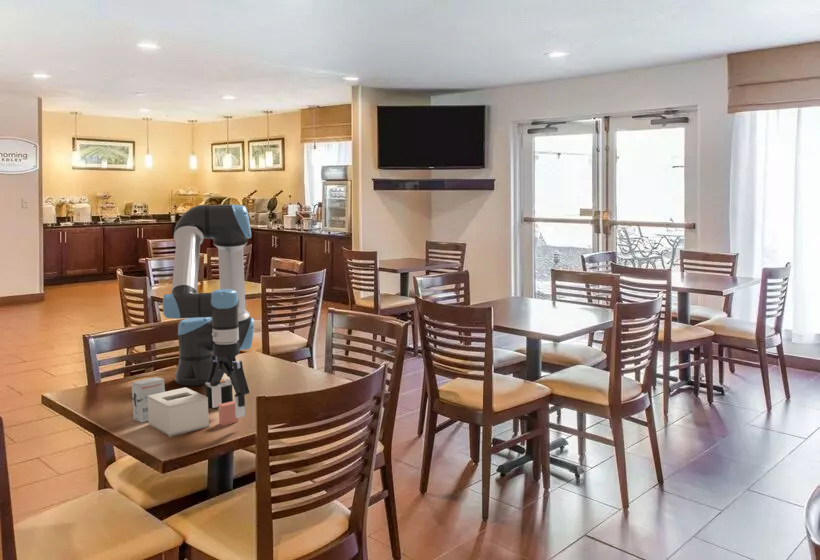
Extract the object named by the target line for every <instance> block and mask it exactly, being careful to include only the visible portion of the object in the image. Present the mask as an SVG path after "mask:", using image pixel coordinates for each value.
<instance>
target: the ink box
mask: <svg viewBox="0 0 820 560" xmlns="http://www.w3.org/2000/svg"><path fill="white" fill-rule="evenodd" d="M165 388H166V387H165V379H164V378H161V377H156V376H155V377H151V378H150V377H149V378H147V379H143V380H138V381H134V382H131V397H132V398H131V400H132V401H131V402H132V413H133V415H132V416H133V417H132V418H133V420H135V421H136V422H139V423H141V424H142V423H146V422H149V418H148V399H147V395H152V394H157V393H161V392H166V389H165Z"/></svg>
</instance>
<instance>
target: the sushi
mask: <svg viewBox="0 0 820 560" xmlns="http://www.w3.org/2000/svg"><path fill="white" fill-rule="evenodd" d="M220 382H221V384H218V385H221V401H222V404H223V403H227V402H231V401H234V400H233V399H234V397H233V394H234V393H233V385H232V383H231V380H230V378H229V379H225V378H222V379H221V381H220ZM204 385H205V394H206V395H205V396H206V397H208V408H210V409H219V407H215V408H213V407H212V386H211V385H210V383H208V382H207V383H205V384H204Z"/></svg>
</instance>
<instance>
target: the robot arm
mask: <svg viewBox="0 0 820 560" xmlns="http://www.w3.org/2000/svg"><path fill="white" fill-rule="evenodd" d="M251 238H252V230H251V223H250V217H249V213H248V209H247V207H246V206H245V205H241V204H200V205H199V204H198V205H196V206H193V207H191V208H190V209H188V210H187V211H186V212H184V213H183V214H182V215H181V216H180V218H179V219H178V221H177V223H176V224H175V227H174V231H173V240H174V241H175V251H174V262H173V263H174V265H173V275H172V283H171V284H172V285H171V293H166V294H164V295H163V297H162V310H163V311H162V313H163V316H164V317H165V318H167V319H178V320H179V319H182V320H180V321H179V322H178V325H177V337H178V352H179V353H178V354H179V355H178V356H179V357H178V360H179V361H178V363H177V364H178V365H177V368H176V371H175V375H174V377H175V378H174V381H175V383H176V384H177V385H180V386H187V387H189V386H192V387H193V386H194V387H195V386H203V385H206V384H205V383H207V382H208V383H210V385H211V386H212V407H213V408H212V409H216V408H215V407H219V404H222V401H221V385H218V384H221V382H220V381H221V379H223V377H224V374H225V375H226V376H227V377H228V378H229V379H230V381H231V383H232V388H233V390H234V392H235V395H234V401H235V416H236V418H238V419H239V418H241V417H242V418H243V417H246V409H245V408H246V407H245V405H246V400H245V397H246V395H249V394H250V389H249V386H248V382H247V379H246V375H245V371H244V368H243V367H244V366H243V361H242V360H237V359H236V357H237V356H238V355H239V354H240V351H244V350H245V351H246V350H249V349H251V347H252V345H253V338H254V328H255V319H254V317H251V313H250V312H249V311H248V310H247V309H246V287H245V261H244V257H245V256H244V248H245V246H246V245H247V244H248V239H251ZM204 239H207V240H210V239H211V240H212V242H213V245H214V246H215V247H216V248H217V253H218V256H217V257H218V271H219V272H218V273H219V289H215V290H212V291H211V292H198V287H199V286H198V283H199V272H200V271H199V269H200V268H199V267H200V253H201V245H202V244H203V242H204Z"/></svg>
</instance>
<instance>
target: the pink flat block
mask: <svg viewBox="0 0 820 560" xmlns="http://www.w3.org/2000/svg"><path fill="white" fill-rule="evenodd" d="M232 423H233V424H235V423H239V418H236V416H235V400H233V401H231V402H227V403H223V404H219V408H218V424H219V425H221V426H223V427H224V426H228V424H229V425H232Z"/></svg>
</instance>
